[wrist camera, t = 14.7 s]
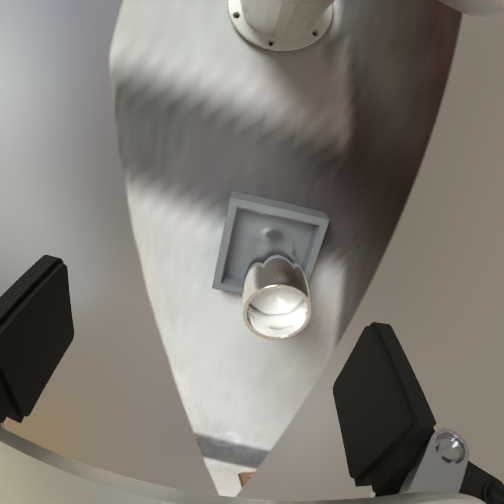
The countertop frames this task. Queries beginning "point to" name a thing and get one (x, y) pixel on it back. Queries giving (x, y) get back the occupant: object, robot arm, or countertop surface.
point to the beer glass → (274, 287)
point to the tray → (258, 217)
